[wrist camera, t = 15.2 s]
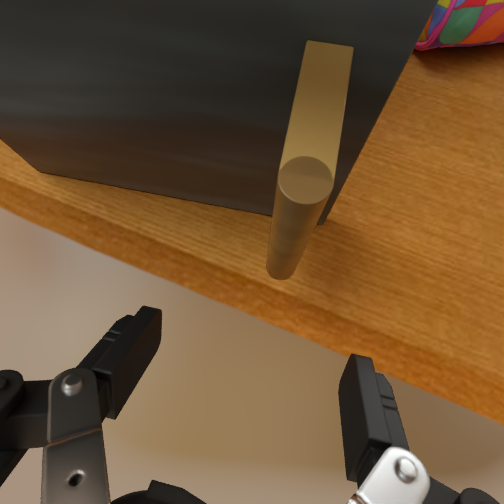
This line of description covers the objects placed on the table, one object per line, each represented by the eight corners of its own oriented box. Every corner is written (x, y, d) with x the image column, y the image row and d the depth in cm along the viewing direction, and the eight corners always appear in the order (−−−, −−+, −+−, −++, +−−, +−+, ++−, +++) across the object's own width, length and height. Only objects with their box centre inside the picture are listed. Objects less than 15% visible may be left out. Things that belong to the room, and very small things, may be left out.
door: (310, 305, 25) (902, -250, 2) (3, 241, 26) (-1400, -415, 4) (324, 215, 27) (667, -485, 5) (42, 162, 29) (-693, -519, 6)
